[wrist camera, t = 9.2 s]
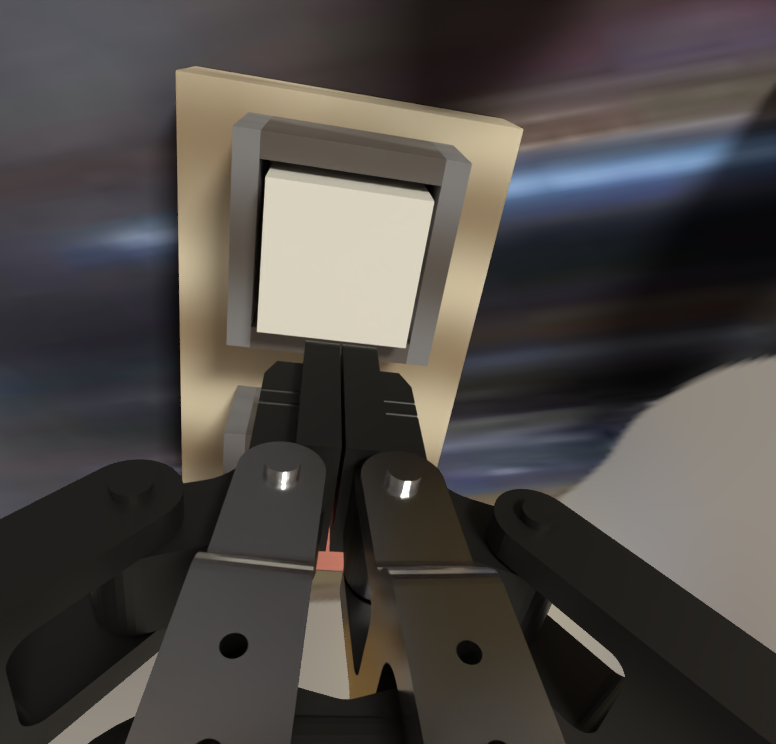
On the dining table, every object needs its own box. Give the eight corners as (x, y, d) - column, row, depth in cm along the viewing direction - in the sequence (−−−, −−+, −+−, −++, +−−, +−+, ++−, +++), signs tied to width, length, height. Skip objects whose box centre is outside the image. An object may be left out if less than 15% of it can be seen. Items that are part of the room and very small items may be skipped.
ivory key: (266, 296, 22) (256, 331, 19) (275, 157, 19) (265, 177, 17) (398, 312, 22) (405, 348, 20) (422, 180, 20) (434, 201, 17)
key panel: (413, 495, 33) (428, 589, 27) (195, 479, 31) (164, 576, 26) (503, 118, 23) (554, 145, 18) (195, 66, 22) (144, 77, 16)
